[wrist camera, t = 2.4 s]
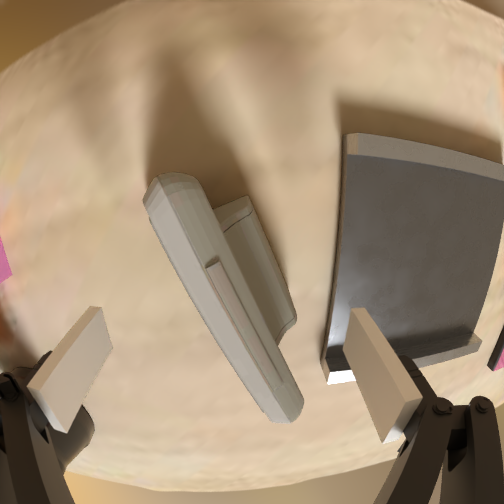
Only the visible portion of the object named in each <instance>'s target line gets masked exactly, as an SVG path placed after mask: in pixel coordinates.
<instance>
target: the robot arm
mask: <svg viewBox="0 0 504 504" xmlns="http://www.w3.org/2000/svg"><path fill="white" fill-rule="evenodd" d="M112 349H113V346H112V343H111V340H110V337H109V333H108V330H107V326H106V323H105V319H104V315H103V311H102V307H92V306H90V307H89V308H88V309H87V310H86V312H85V313H84V314H83V315H82V316H81V317H80V319H79V320H78V321H77V322H76V323H75V325H74V326H73V327H72V328H71V329H70V331H69V332H68V333H67V334H66V335H65V337H64V338H63V339H62V340H61V342H60V343H59V344H58V345H57V347H56V348H55V349H54V350H53V351H49V352H48V353H46V354H45V355H43V356H42V357H41V359H40V360H39V361H38V364H36V365H35V366H34V368H33V369H32V370H31V369H28V368H23V367H19V368H15V369H14V370H13V371H12V372H11V373H9V372H5V373H1V374H0V504H75V503H74V500H73V498H72V496H71V494H70V491H69V489H68V486H67V484H66V482H65V479H64V476H63V475H64V472H65V470H66V467H67V466H68V464H69V463H70V462H71V461H72V460H73V459H74V458H75V457H76V456H77V455H78V454H79V453H80V452H81V451H82V450H83V449H84V448H85V447H86V446H88V444H89V443H90V441H91V438H92V436H93V434H94V424H93V422H92V419H91V418H90V416H89V414H88V413H87V412H86V410H85V409H84V408H83V407H82V406H81V405H82V403H83V401H84V399H85V397H86V395H87V393H88V391H89V390H90V388H91V386H92V384H93V382H94V380H95V379H96V377H97V375H98V373H99V371H100V370H101V368H102V366H103V364H104V362H105V361H106V359H107V357H108V355H109V354H110V352H111V350H112ZM343 352H344V354H345V356H346V359H347V361H348V363H349V366H350V368H351V370H352V372H353V375H354V377H355V379H356V382H357V384H358V386H359V389H360V391H361V393H362V396H363V398H364V400H365V403H366V405H367V408H368V410H369V413H370V415H371V417H372V420H373V422H374V425H375V427H376V430H377V432H378V435H379V437H380V440H381V442H382V444H384V443H388V442H392V441H396V440H398V439H399V438H400V436H401V434H402V433H403V432H404V434H405V437H406V440H405V441H404V443H403V444H402V445H401V447H400V448H399V450H398V451H397V452H399V454H398V456H397V459H396V461H395V463H394V465H393V467H392V470H391V471H390V473H389V475H388V478H387V479H386V482H385V483H384V485H383V487H382V489H381V491H380V493H379V494H378V496H377V498H376V500H375V501H374V503H373V504H428V503H429V500H430V498H431V495H432V493H433V490H434V487H435V484H436V482H437V479H438V476H439V473H440V470H441V467H442V463H443V469H442V484H441V495H440V504H504V473H503V460H502V451H501V444H500V436H499V430H498V424H497V419H496V414H495V409H494V405H493V403H492V402H491V401H490V400H489V399H488V398H486V397H483V396H476V397H474V398H472V400H471V402H470V403H469V405H457V406H454V405H453V404H452V403H451V402H450V401H449V400H447V399H445V398H441V397H437V395H436V394H435V392H434V391H433V389H432V388H431V386H430V385H429V383H428V382H427V380H426V379H425V377H424V376H423V374H422V373H421V371H420V370H419V368H418V367H417V365H416V364H415V362H414V361H413V360H412V359H410V358H409V357H407V356H406V355H402V356H397V355H396V353H395V352H394V350H393V349H392V347H391V346H390V344H389V343H388V341H387V340H386V338H385V337H384V335H383V334H382V332H381V331H380V329H379V328H378V326H377V325H376V323H375V322H374V321H373V319H372V318H371V316H370V315H369V313H368V312H367V310H366V309H365V307H363V308H351V312H350V317H349V322H348V327H347V332H346V337H345V342H344V347H343Z"/></svg>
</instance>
